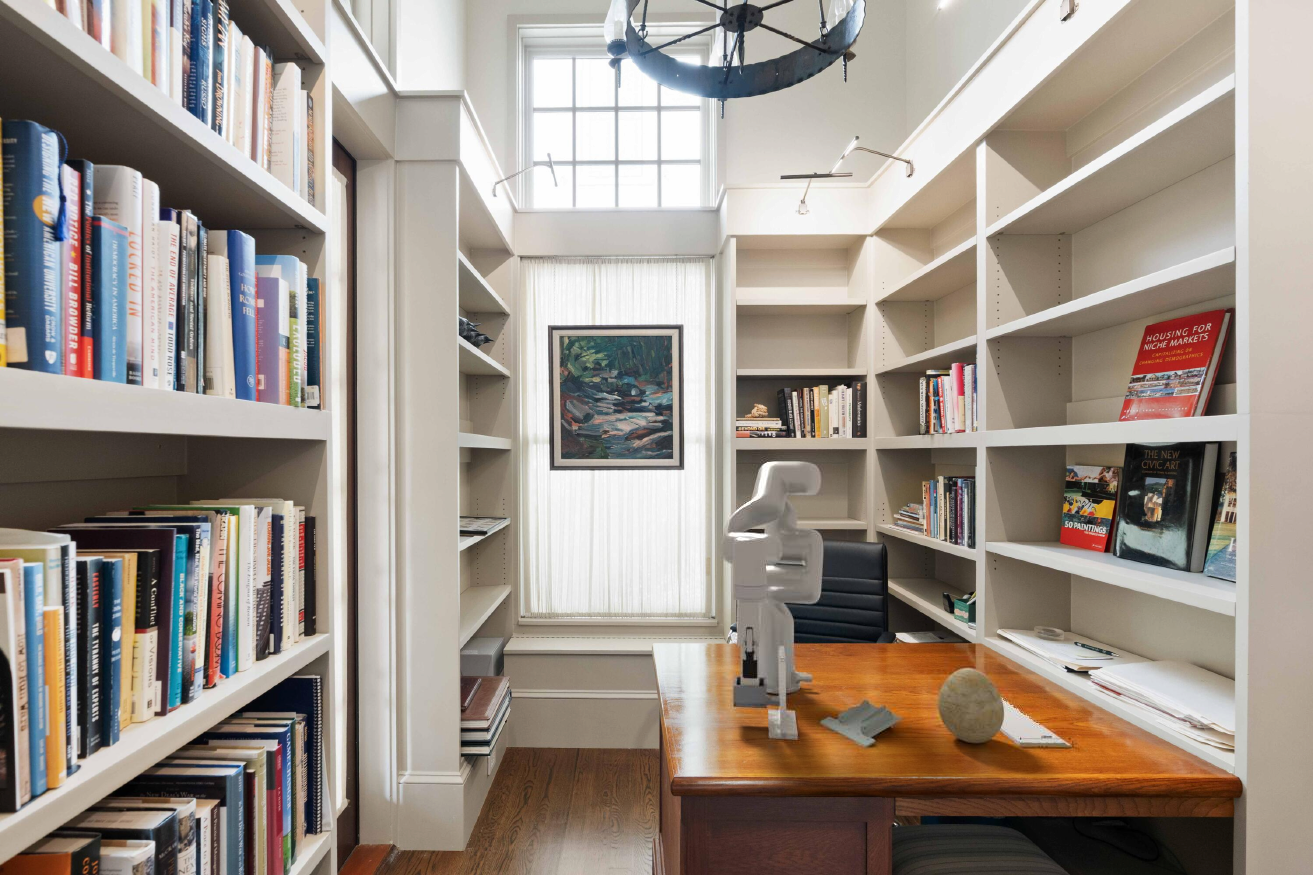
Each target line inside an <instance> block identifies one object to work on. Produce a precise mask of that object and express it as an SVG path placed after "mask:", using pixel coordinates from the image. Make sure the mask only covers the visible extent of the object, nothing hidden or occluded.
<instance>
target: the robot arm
mask: <svg viewBox="0 0 1313 875" xmlns="http://www.w3.org/2000/svg"><path fill="white" fill-rule="evenodd" d="M821 485H822V475H821V471H820V469H819V467H818V465H817V464H815V463H811V462H807V461H795V460H794V461H793V460H791V461H790V460H789V461H788V460H787V461H783V460H782V461H778V460H777V461H776V460H775V461H769V462H766V463H764V464H762V465H761V467H760V468H759V469H758V473H757V476H756V480H755V484H754V488H753V492H752V495H751V499H750V501H748V502H747V503H745V504H744V505H741V507H739V508H738V509H737V510H736V511H735V512H734V513H732V514H731V515H730V517H729V518H728V520H727V522H726V525H725V528H724V531H723V534H722V539H721V543H720V553H721V557H722V559H723V561H724V562H726V563H727V564H731V565H732V584H733V585H732V599H733V600H735V601H737V606H736V607H737V608H736V610H737V611H736V645H737V646H738V647H741V645H742V644H743V642H744V646H743V647H744V659H743V678H751V679H756V678H757V660H756V647H757V646H759V677H765V678H767V693H768V694H773V695H774V694H775V695H776V694H777V695H779V649H778V645H780V646H784V652H785V661H786V694H791V693H796V692H797V691H799V690H800V688H801V683H802V682H803V683H813V675H812V674H808V673H807V672H798V671H796V667H795V663H794V662H795V652H794V650H795V642H794V641H795V638H794V637H795V636H794V635H795V633H794V632H795V631H794V630H795V629H794V627H795V624H794V618H793V615H792V613H791V611H790V609H789V608H788V606H787V605H786V604H787V603H789V604H803V605H804V604H806V605H813V604H816V603H817V602H818V601H819V600H820V597H821V593H822V582H823V581H822V580H823V579H822V578H823V563H824V542H823V541H824V540H823V538H822V537H823V536H822V535H821V533H820V532H819V531H817V530H816V529H812V528H801V527H799V528H797V526H798V525H797V524H798V513H797V510H796V509H795V508H794V506H793V505H792V504H791V502H790V501H789V500H788V499H787V496H789V495H791V496H815V495H816V494H817V493H818V492H819V491H820V489H821ZM763 525H765V526H764V533H759V532H758V533H757V532H747V531H749V530H750V529H753V528H755V527H760V526H763ZM787 564H788V565H787ZM785 603H786V604H785ZM745 643H747V645H745ZM752 643H754V645H752ZM746 648H747V650H746ZM752 649H754V651H753V650H752ZM800 682H801V683H800Z"/></svg>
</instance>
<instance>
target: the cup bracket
mask: <svg viewBox="0 0 1313 875" xmlns="http://www.w3.org/2000/svg"><path fill="white" fill-rule="evenodd" d="M778 649H779V694H778V696H772V695H771V696H770V695H769V696H768V694H767V678H765V677H759V686H743V685H741V675H735V676H734V679H733V693H732V694H733V695H732V696H733V705H732V706H733V707H735V708H750V709H752V708H753V709H767V708H768V706H773V707H775V706H777V707H778V709H767V710H768V711H767V712H768V716H767V717H768V718H767V719H768V738H769V739H777V740H778V739H781V740H799V739H798V738H799V734H798V727H797V726H798V725H797V719H796V711H795V710H787V693H786V661H785V652H784V646H780V645H778Z"/></svg>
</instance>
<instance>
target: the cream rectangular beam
mask: <svg viewBox="0 0 1313 875" xmlns="http://www.w3.org/2000/svg"><path fill="white" fill-rule="evenodd" d="M745 645H747V643H745ZM752 645H754V643H752ZM743 646H744V642H743V644H742V645H740V676H741V685H743V686H759V646H757V647H756V660H757V678H756V679H751V678H743V659H744V647H743ZM746 650H747V648H746ZM752 650H753V651H754V649H752Z"/></svg>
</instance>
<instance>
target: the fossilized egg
mask: <svg viewBox="0 0 1313 875" xmlns="http://www.w3.org/2000/svg"><path fill="white" fill-rule="evenodd" d="M1001 698H1002V697H1001V695H1000V691H998V689H997V687H996V685H995V684H994V683H993V681H991V679H990V678H989V677H987V675H986V674H984V673H983V672H981V671H979V670H977V669H975V668H971V667H964V668H960V669H957V670H956V671H954V672H952V674H951V675H949V676H948V677H947V679H945V680H944V682H943V684H942V686H941V688H940V690H939V692H938V698H937V710H938V714H939V717H940V719H941V721H942V724H943V725H944V726H945V728H946V729H947V730H948V731H949V733H951V734H952V735H953V736H954V737H956V738H957V739H959V740H960V741H963V742H965V743H968V744H969V743H970V744H982V743H985V742H988V741H990V740H991V739H993V738H995V736H996V735H997V734H998V733H999V732H1000V728H1001V726H1002V724H1003V720H1004V706H1003V702H1002V699H1001Z"/></svg>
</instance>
